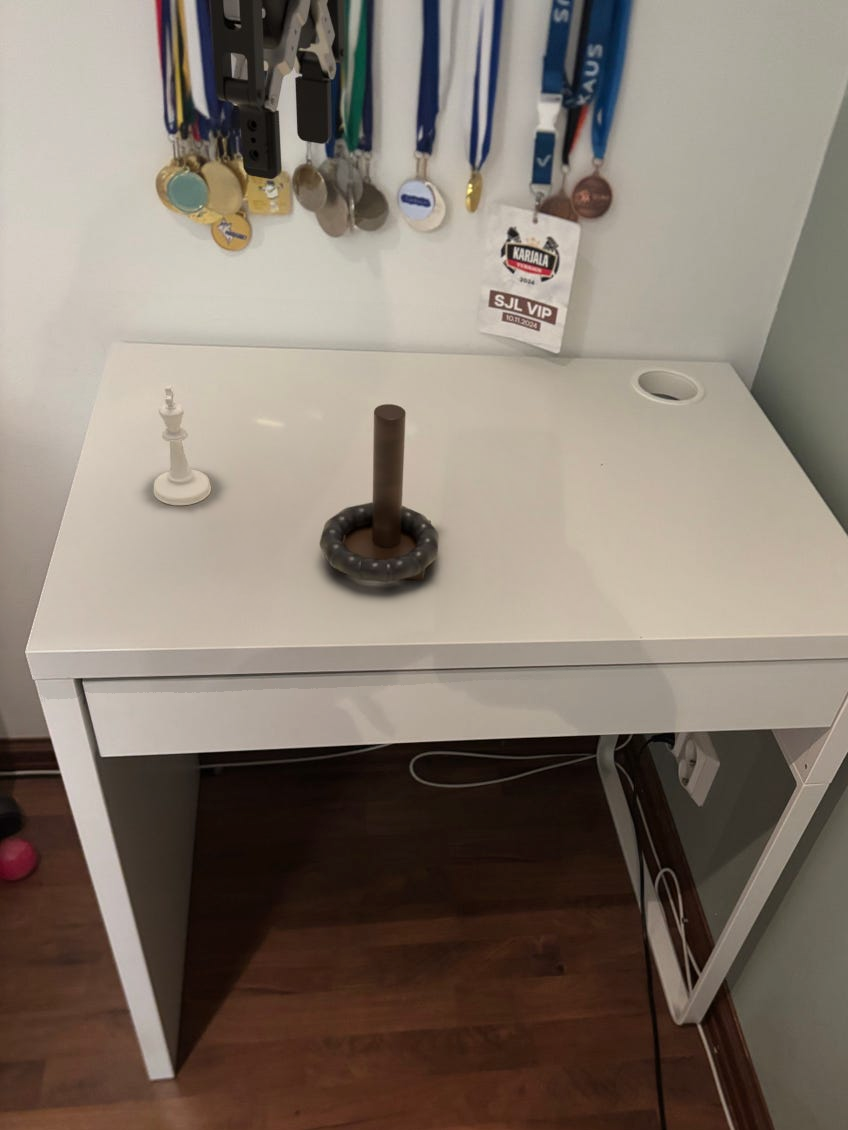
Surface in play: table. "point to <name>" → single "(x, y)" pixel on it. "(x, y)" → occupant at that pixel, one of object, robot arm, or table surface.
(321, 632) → the table surface
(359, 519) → the ring
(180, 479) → the chess piece
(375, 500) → the peg stand
